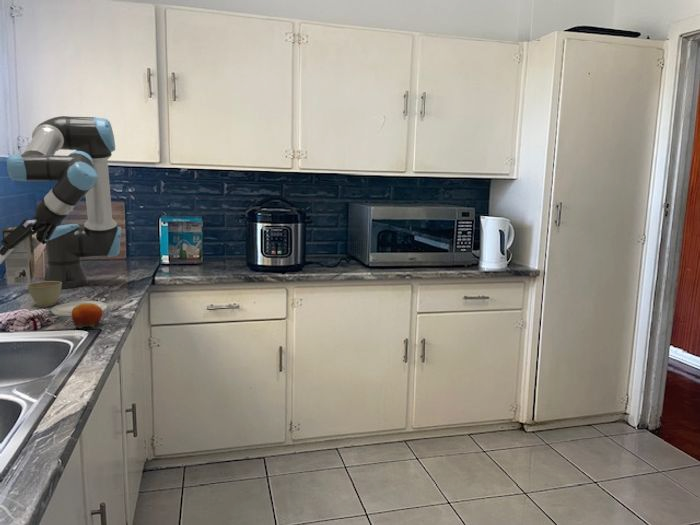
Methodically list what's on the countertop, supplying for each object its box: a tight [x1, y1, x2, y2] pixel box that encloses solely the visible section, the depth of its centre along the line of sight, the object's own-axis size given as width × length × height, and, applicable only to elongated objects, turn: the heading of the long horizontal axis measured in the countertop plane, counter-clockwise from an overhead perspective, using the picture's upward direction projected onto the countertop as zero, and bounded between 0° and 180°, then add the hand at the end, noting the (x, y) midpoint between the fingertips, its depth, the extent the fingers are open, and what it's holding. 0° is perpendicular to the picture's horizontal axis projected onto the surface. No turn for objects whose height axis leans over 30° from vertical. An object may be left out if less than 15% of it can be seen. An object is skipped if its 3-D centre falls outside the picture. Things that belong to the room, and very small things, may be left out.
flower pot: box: [26, 280, 62, 308], centre depth 181 cm, size 10×10×7 cm
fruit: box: [71, 303, 103, 329], centre depth 157 cm, size 8×8×8 cm
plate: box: [51, 300, 108, 318], centre depth 175 cm, size 16×16×1 cm
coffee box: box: [1, 226, 37, 286], centre depth 162 cm, size 9×6×16 cm
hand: (10, 257), depth 162 cm, fingers closed on coffee box, 11 cm apart
